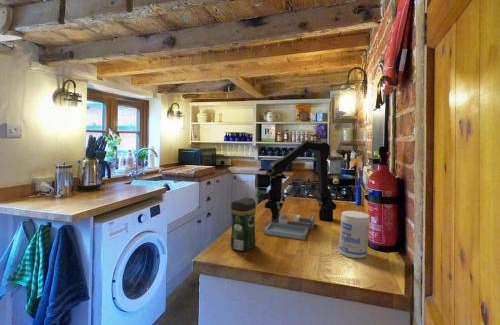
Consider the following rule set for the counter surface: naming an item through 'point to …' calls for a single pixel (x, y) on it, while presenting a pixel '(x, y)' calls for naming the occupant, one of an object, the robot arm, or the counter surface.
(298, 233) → the tray
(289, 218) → the ball
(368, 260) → the counter surface
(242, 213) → the coffee jar
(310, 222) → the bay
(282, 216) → the white open-front box
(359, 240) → the supplement tub
